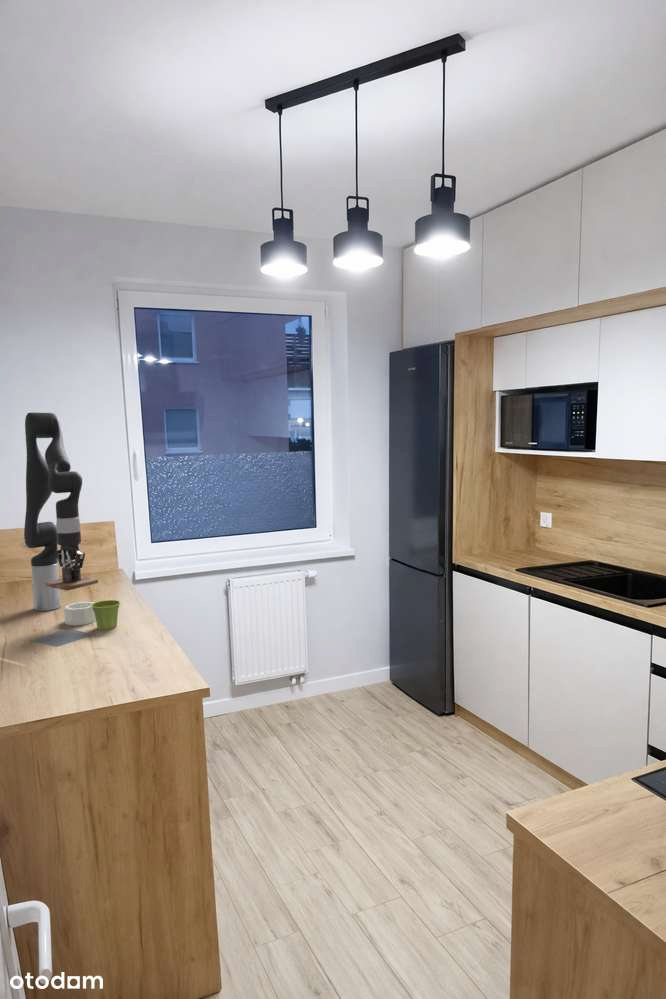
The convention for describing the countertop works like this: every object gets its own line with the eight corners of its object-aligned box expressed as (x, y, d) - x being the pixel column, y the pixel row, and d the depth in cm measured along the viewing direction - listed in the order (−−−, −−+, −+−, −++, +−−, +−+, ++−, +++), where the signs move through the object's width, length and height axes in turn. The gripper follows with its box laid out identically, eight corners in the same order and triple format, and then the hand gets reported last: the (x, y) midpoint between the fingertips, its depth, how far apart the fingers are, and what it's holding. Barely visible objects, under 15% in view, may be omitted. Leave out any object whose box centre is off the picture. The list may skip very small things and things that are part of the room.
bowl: (60, 624, 228) (59, 607, 228) (85, 616, 237) (83, 600, 236) (78, 627, 223) (76, 610, 222) (102, 620, 231) (101, 603, 231)
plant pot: (128, 625, 224) (126, 601, 223) (107, 633, 215) (106, 608, 214) (107, 623, 227) (105, 599, 227) (86, 631, 219) (84, 605, 218)
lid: (45, 586, 222) (44, 568, 221) (76, 578, 232) (75, 561, 231) (66, 590, 215) (65, 572, 214) (98, 583, 225) (97, 565, 224)
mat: (30, 641, 209) (30, 640, 209) (68, 629, 221) (68, 628, 221) (56, 648, 202) (56, 646, 202) (95, 635, 213) (94, 634, 213)
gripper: (90, 530, 220) (94, 580, 223) (66, 527, 228) (69, 575, 230) (71, 533, 214) (74, 585, 216) (46, 530, 222) (49, 579, 224)
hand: (71, 579), depth 223 cm, fingers closed on lid, 3 cm apart
